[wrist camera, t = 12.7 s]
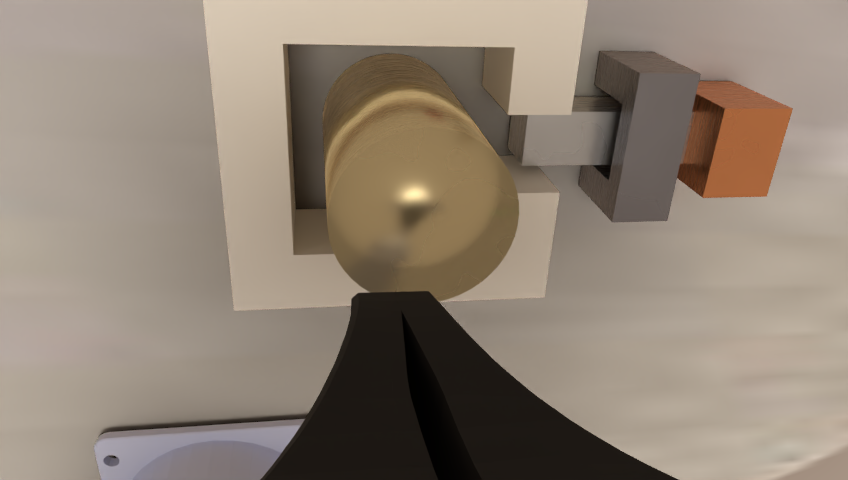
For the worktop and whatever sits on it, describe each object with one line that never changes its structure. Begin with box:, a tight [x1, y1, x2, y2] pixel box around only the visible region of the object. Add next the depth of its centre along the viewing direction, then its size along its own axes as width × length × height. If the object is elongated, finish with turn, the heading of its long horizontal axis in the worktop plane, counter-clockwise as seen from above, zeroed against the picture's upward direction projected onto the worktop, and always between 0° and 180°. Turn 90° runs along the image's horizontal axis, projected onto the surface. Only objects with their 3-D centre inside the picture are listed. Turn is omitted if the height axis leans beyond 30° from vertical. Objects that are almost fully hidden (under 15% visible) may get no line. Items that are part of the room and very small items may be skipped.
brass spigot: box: [322, 54, 519, 302], centre depth 17 cm, size 4×4×7 cm
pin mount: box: [579, 51, 700, 222], centre depth 20 cm, size 4×2×3 cm, turn 177°
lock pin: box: [508, 81, 792, 198], centre depth 20 cm, size 3×7×3 cm, turn 87°
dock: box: [203, 0, 588, 311], centre depth 19 cm, size 9×9×3 cm
